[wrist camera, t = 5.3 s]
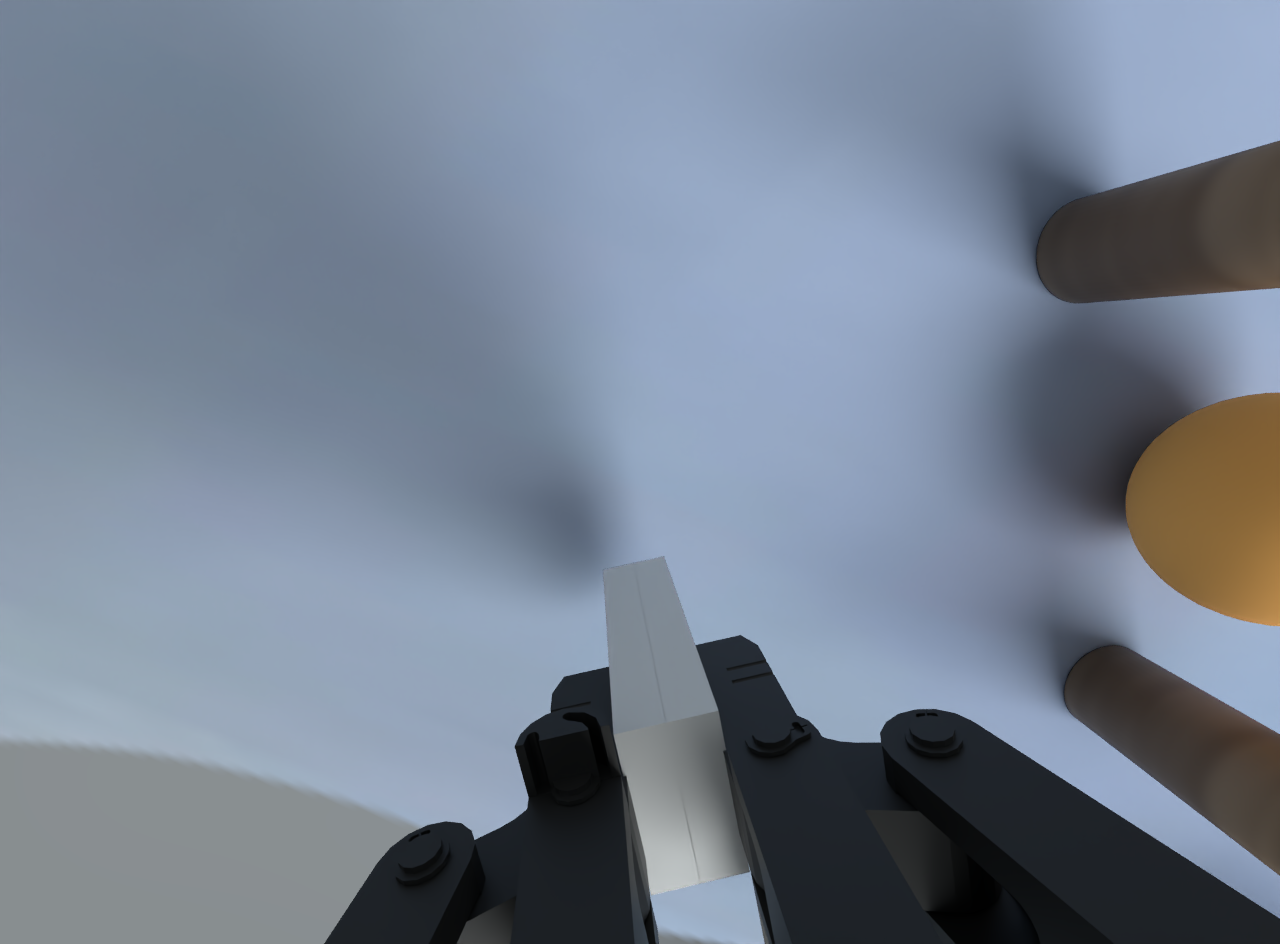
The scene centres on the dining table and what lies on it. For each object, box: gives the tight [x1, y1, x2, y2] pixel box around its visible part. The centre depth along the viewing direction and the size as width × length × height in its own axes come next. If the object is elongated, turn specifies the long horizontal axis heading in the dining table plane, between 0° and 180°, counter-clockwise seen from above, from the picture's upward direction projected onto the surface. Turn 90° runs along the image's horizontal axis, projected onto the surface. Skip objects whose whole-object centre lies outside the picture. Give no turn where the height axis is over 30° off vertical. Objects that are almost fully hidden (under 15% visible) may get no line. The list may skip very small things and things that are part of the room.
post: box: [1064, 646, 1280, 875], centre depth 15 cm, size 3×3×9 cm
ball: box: [1126, 393, 1280, 626], centre depth 15 cm, size 6×6×6 cm
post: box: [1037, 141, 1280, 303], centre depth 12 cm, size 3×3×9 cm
